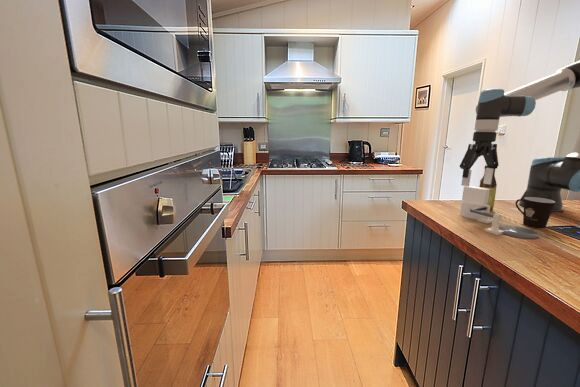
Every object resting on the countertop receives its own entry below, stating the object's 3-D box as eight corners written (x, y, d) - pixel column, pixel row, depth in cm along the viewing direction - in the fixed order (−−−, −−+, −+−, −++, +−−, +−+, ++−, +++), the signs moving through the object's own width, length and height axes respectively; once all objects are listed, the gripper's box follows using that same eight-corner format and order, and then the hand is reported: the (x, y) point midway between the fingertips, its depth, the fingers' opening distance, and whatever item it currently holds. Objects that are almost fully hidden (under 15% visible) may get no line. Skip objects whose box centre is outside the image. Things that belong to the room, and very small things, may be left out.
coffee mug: (555, 230, 100) (561, 203, 98) (527, 228, 102) (533, 202, 100) (534, 220, 111) (539, 196, 109) (510, 219, 113) (514, 194, 111)
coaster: (507, 224, 106) (508, 223, 106) (546, 235, 95) (546, 234, 95) (487, 229, 101) (487, 227, 101) (525, 241, 91) (525, 239, 90)
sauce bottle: (496, 211, 123) (504, 166, 119) (481, 211, 123) (489, 166, 119) (486, 207, 129) (493, 164, 125) (472, 207, 130) (479, 164, 125)
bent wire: (485, 208, 109) (485, 206, 109) (512, 215, 101) (513, 212, 100) (469, 211, 105) (469, 208, 105) (495, 218, 97) (496, 215, 97)
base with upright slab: (489, 216, 116) (494, 188, 113) (479, 220, 111) (484, 190, 108) (465, 211, 123) (469, 184, 121) (455, 214, 118) (459, 186, 116)
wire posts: (474, 218, 113) (477, 203, 112) (491, 220, 111) (493, 204, 110) (486, 233, 97) (490, 215, 95) (506, 236, 95) (510, 217, 93)
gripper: (495, 131, 118) (486, 181, 123) (454, 130, 108) (446, 184, 113) (515, 131, 111) (505, 184, 116) (473, 130, 101) (464, 188, 106)
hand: (476, 184), depth 114 cm, fingers open, 13 cm apart
